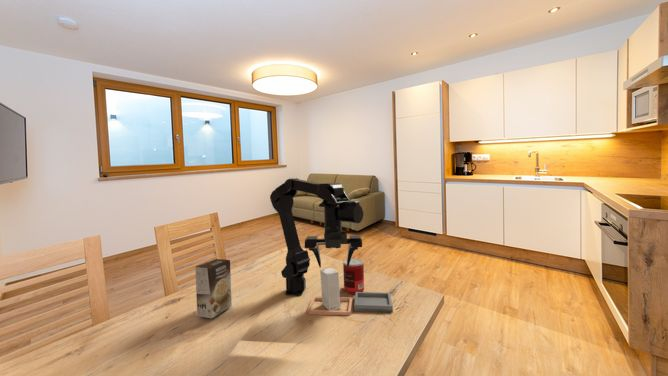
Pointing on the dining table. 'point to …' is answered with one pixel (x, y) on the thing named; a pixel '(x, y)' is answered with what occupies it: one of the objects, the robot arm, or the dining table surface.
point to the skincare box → (330, 289)
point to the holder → (330, 312)
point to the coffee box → (213, 287)
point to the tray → (373, 302)
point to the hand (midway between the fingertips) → (333, 267)
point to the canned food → (353, 276)
